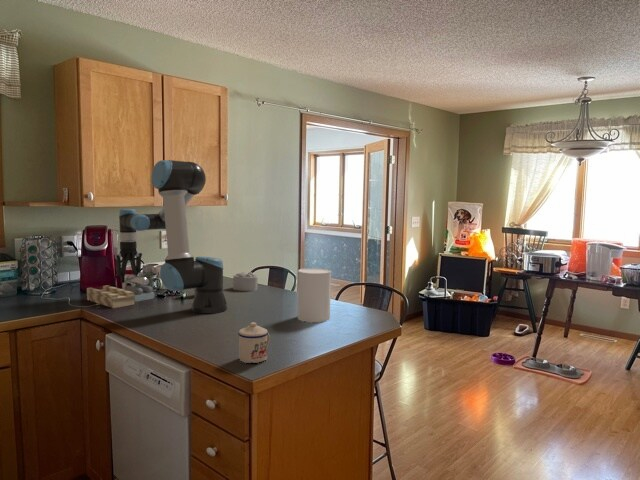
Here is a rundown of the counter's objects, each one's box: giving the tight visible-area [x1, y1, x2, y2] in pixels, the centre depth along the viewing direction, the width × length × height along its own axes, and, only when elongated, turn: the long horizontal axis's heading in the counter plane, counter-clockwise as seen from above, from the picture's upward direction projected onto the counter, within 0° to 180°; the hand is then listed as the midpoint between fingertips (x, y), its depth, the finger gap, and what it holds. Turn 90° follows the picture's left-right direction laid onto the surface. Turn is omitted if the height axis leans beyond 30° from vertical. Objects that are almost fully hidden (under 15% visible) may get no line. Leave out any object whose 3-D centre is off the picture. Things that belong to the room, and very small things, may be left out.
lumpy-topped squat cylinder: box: [232, 271, 258, 292], centre depth 259 cm, size 10×13×9 cm
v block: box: [123, 284, 155, 303], centre depth 232 cm, size 11×10×6 cm
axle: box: [125, 273, 150, 286], centre depth 234 cm, size 16×4×4 cm, turn 52°
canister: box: [297, 267, 332, 323], centre depth 201 cm, size 14×14×20 cm
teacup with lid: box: [238, 321, 271, 362], centre depth 152 cm, size 12×9×12 cm
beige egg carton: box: [86, 284, 135, 309], centre depth 224 cm, size 24×10×6 cm, turn 51°
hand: (129, 288), depth 238 cm, fingers closed on axle, 4 cm apart
